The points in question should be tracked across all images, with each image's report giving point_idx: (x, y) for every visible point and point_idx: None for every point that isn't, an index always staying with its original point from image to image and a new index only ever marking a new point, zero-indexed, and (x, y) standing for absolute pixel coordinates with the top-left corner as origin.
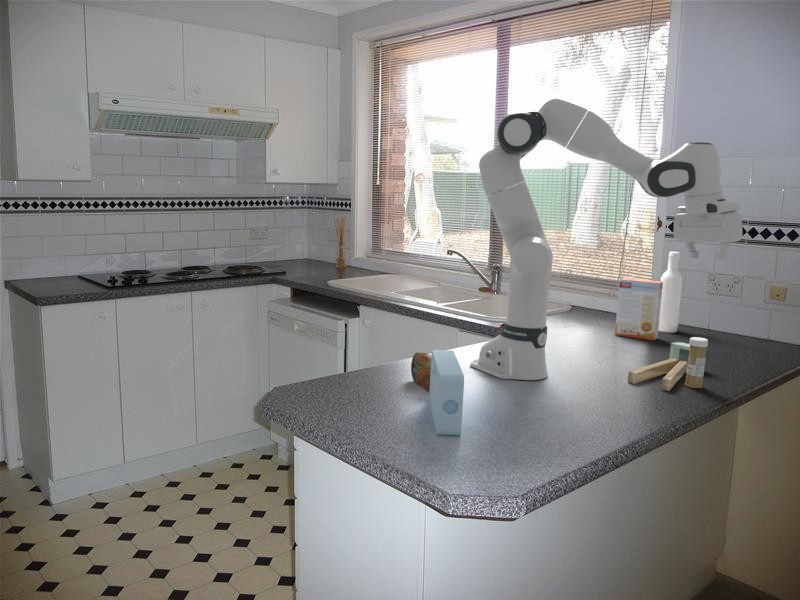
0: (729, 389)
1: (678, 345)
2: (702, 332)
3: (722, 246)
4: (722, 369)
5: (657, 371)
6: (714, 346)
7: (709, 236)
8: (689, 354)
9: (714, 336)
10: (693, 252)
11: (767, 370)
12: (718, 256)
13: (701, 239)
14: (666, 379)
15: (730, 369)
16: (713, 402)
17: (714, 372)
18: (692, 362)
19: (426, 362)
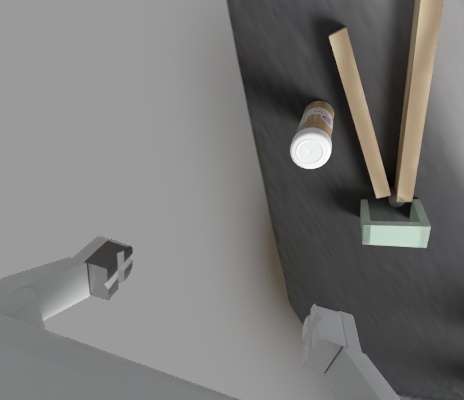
0: (275, 152)
1: (410, 225)
2: (460, 393)
3: (10, 282)
4: (339, 242)
5: (404, 114)
6: (410, 339)
7: (20, 394)
8: (324, 124)
9: (434, 381)
10: (319, 335)
11: (299, 275)
12: (108, 250)
13: (161, 396)
14: (337, 32)
15: (332, 249)
16: (245, 56)
17: (339, 219)
18: (314, 116)
19: None
